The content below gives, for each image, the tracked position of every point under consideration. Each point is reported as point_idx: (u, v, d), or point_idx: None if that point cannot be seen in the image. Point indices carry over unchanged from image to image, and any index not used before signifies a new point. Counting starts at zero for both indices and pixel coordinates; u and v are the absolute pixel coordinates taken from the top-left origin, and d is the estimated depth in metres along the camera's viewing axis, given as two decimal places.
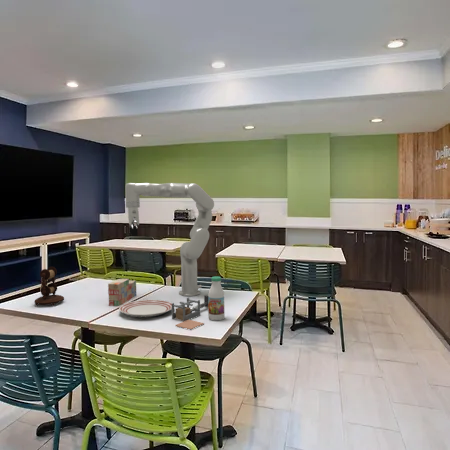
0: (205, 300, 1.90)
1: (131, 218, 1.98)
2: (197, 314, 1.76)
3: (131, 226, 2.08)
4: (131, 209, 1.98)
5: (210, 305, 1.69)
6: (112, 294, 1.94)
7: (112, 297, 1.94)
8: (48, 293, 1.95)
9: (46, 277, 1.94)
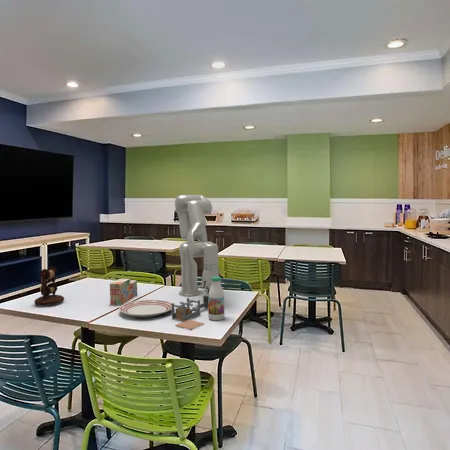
0: (204, 300, 1.89)
1: None
2: (197, 314, 1.76)
3: None
4: None
5: (210, 305, 1.69)
6: (114, 293, 1.94)
7: (113, 297, 1.94)
8: (48, 293, 1.95)
9: (46, 277, 1.94)
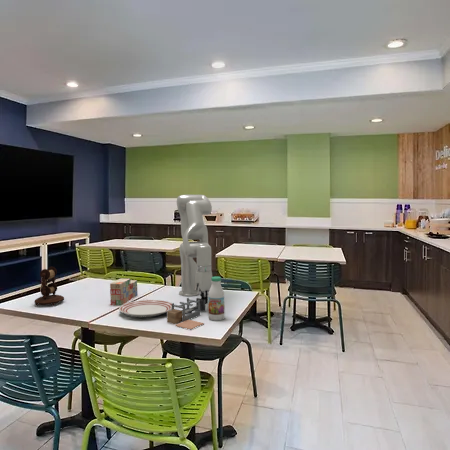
0: (197, 303, 1.84)
1: None
2: (197, 314, 1.76)
3: None
4: None
5: (210, 305, 1.69)
6: (114, 293, 1.94)
7: (114, 297, 1.94)
8: (48, 293, 1.95)
9: (46, 277, 1.94)
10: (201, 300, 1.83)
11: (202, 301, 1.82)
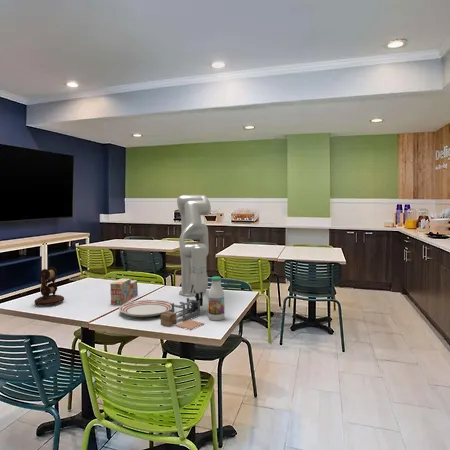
0: None
1: None
2: (197, 314, 1.76)
3: None
4: None
5: (210, 305, 1.69)
6: (115, 293, 1.94)
7: (114, 297, 1.95)
8: (48, 293, 1.95)
9: (46, 277, 1.94)
10: None
11: (197, 303, 1.79)
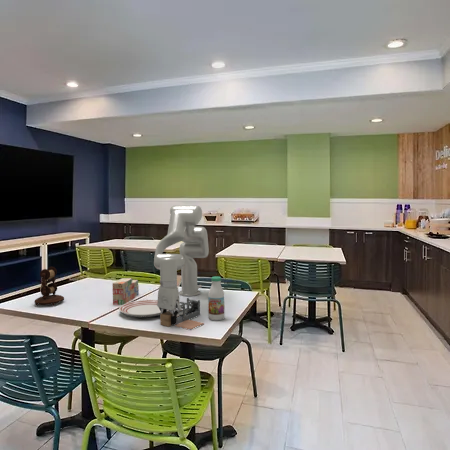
0: None
1: None
2: (197, 314, 1.76)
3: None
4: None
5: (210, 305, 1.69)
6: (117, 293, 1.95)
7: (116, 296, 1.95)
8: (48, 293, 1.95)
9: (46, 277, 1.94)
10: None
11: (197, 303, 1.79)
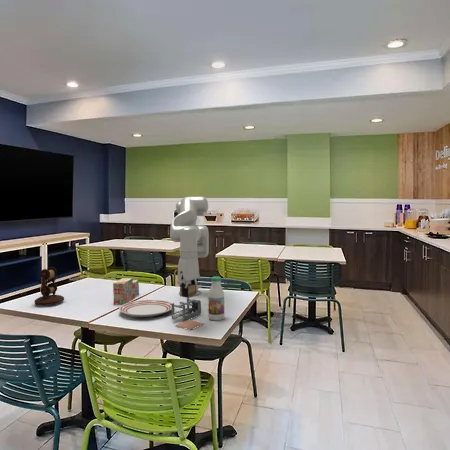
0: (193, 305, 1.81)
1: None
2: (197, 314, 1.76)
3: None
4: None
5: (210, 305, 1.69)
6: (117, 293, 1.95)
7: (117, 296, 1.95)
8: (48, 293, 1.95)
9: (46, 277, 1.94)
10: None
11: (197, 303, 1.79)
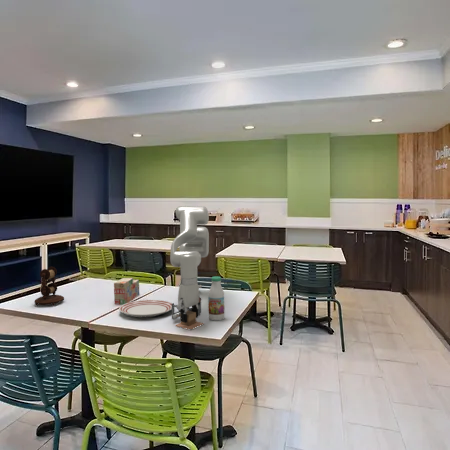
0: None
1: None
2: None
3: None
4: None
5: (210, 305, 1.69)
6: (118, 293, 1.96)
7: (118, 296, 1.96)
8: (48, 293, 1.95)
9: (46, 277, 1.94)
10: None
11: None
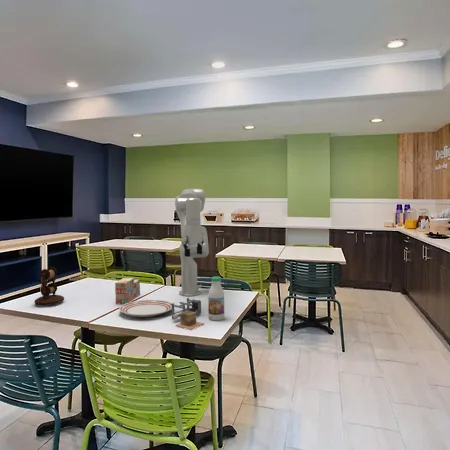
0: (193, 305, 1.81)
1: None
2: (197, 314, 1.76)
3: None
4: None
5: (210, 305, 1.69)
6: (119, 292, 1.96)
7: (119, 296, 1.96)
8: (48, 293, 1.95)
9: (46, 277, 1.94)
10: None
11: (197, 303, 1.79)
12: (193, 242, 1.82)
